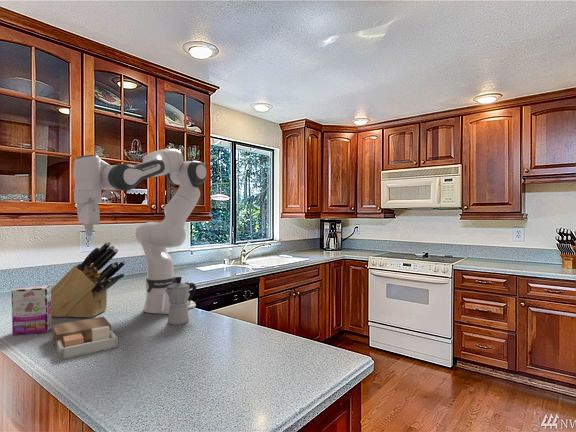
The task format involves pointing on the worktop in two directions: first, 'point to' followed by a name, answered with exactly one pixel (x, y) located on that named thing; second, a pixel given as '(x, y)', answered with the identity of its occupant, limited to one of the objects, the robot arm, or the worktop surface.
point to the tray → (87, 347)
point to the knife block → (86, 285)
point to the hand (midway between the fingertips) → (88, 235)
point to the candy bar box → (31, 310)
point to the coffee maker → (179, 301)
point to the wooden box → (78, 328)
